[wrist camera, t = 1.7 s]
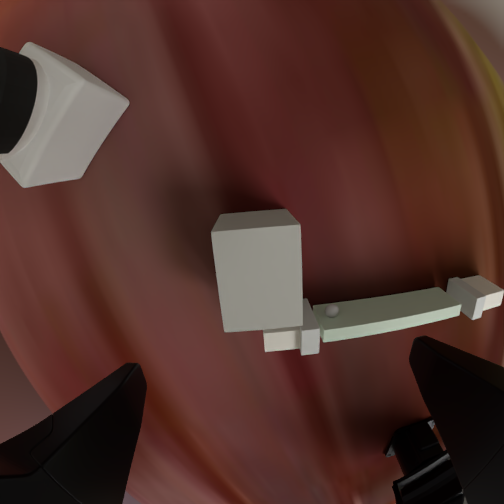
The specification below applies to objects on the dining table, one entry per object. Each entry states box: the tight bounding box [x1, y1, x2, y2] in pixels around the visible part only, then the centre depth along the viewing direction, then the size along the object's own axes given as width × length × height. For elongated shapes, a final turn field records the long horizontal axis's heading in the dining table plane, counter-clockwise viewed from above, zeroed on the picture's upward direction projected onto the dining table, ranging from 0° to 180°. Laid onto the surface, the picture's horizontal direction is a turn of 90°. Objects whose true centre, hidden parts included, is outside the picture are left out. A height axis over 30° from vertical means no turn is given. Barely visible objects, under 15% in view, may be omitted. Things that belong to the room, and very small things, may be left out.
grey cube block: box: [211, 209, 303, 332], centre depth 18 cm, size 6×5×6 cm
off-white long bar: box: [263, 275, 504, 355], centre depth 20 cm, size 2×22×4 cm, turn 95°
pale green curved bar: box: [313, 287, 462, 342], centre depth 20 cm, size 12×2×4 cm, turn 95°
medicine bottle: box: [0, 42, 129, 188], centre depth 12 cm, size 7×7×12 cm
